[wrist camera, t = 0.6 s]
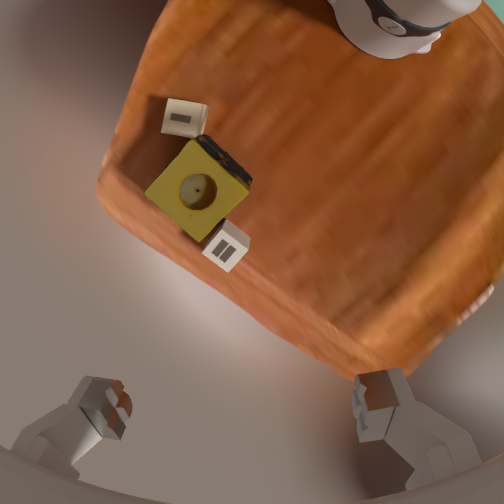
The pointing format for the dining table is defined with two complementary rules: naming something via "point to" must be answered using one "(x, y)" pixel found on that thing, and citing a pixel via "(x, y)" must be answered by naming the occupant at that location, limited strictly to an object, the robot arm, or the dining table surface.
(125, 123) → the dining table surface
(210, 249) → the cream block marked
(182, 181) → the candle
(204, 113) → the beech block marked
